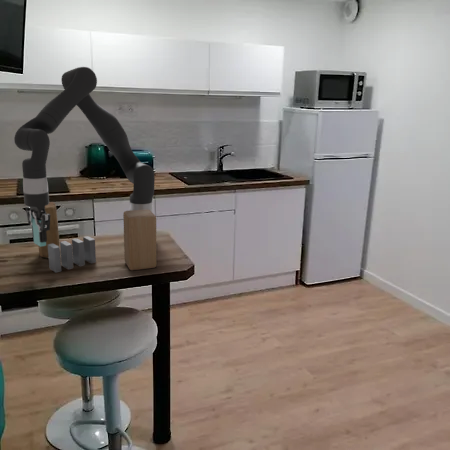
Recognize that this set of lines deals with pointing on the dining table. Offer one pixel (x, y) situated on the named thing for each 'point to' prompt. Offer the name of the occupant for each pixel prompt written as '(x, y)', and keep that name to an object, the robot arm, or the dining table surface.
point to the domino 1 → (37, 235)
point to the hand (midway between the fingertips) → (39, 239)
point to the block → (51, 230)
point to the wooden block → (139, 239)
